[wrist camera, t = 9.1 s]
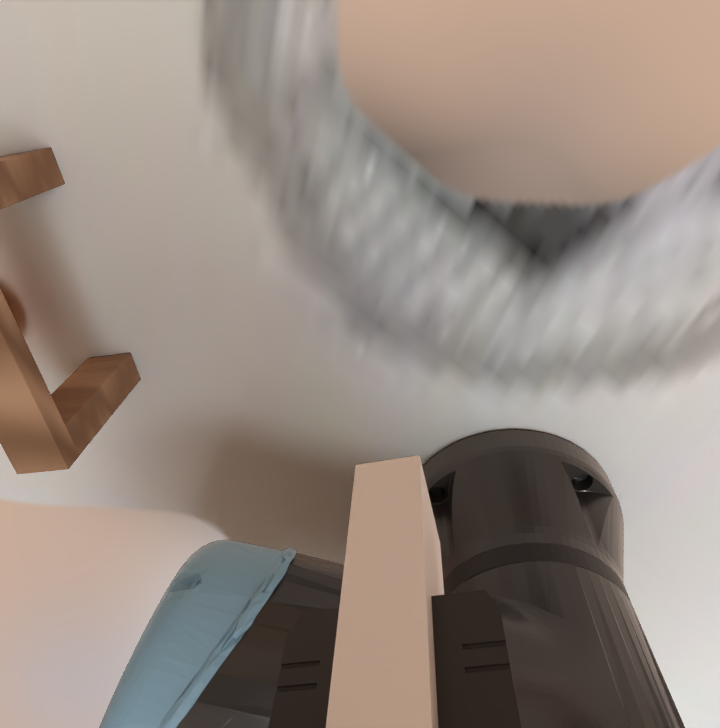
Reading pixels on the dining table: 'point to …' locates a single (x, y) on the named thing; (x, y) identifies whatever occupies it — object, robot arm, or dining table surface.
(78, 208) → the dining table surface
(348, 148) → the dining table surface
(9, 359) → the bridge
